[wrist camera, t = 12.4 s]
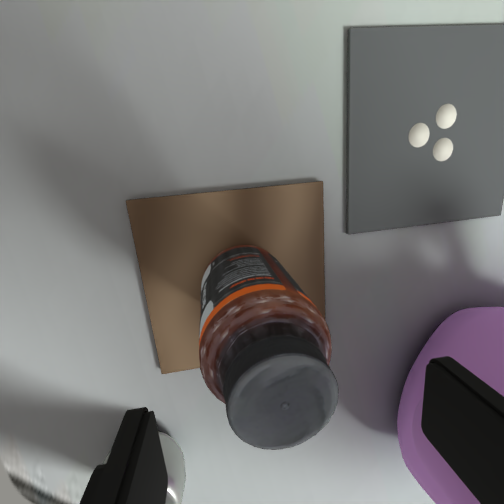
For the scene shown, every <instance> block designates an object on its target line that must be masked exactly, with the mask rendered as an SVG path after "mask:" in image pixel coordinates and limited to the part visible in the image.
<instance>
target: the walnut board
mask: <svg viewBox="0 0 504 504" xmlns="http://www.w3.org/2000/svg"><path fill="white" fill-rule="evenodd" d="M126 205H127V209H128V214H129V219H130V224H131V229H132V233H133V238H134V243H135V248H136V253H137V257H138V262H139V267H140V272H141V277H142V281H143V286H144V291H145V296H146V301H147V305H148V310H149V315H150V320H151V325H152V329H153V334H154V339H155V344H156V349H157V353H158V358H159V363H160V368H161V373H162V374H167V373H172V372H178V371H184V370H189V369H195V368H200V361H199V330H200V309H201V308H200V301H201V294H200V293H201V283H202V278H203V274H204V272H205V269H206V268H207V266H208V264H209V263H210V262H211V260H212V259H213V258H214V257H215V256H216V255H217V254H219V253H220V252H222V251H224V250H226V249H228V248H230V247H234V246H238V245H252V246H256V247H259V248H262V249H264V250H266V251H267V252H269V253H270V254H271V255H273V256H274V257H275V258H276V259H277V260H278V261H279V262H280V264H281V265H282V266H283V267H284V268H285V270H286V271H287V272H288V273H289V274H290V276H291V277H292V278H293V279H294V280H295V282H296V283H297V284H298V285H299V287H300V288H301V289H302V290H303V291H304V293H305V294H306V295H307V296H308V297H309V299H310V300H311V301H312V302H313V304H314V305H315V306H316V307H317V309H318V310H319V311H320V313H321V315H322V316H323V318H324V320H325V276H324V209H323V181H318V182H308V183H298V184H287V185H277V186H267V187H256V188H246V189H236V190H225V191H215V192H205V193H195V194H184V195H174V196H164V197H153V198H143V199H133V200H126Z"/></svg>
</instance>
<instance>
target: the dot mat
mask: <svg viewBox="0 0 504 504" xmlns="http://www.w3.org/2000/svg"><path fill="white" fill-rule="evenodd" d="M503 199H504V24H490V25H447V26H404V27H361V28H350V29H349V30H348V111H347V234H355V233H363V232H371V231H379V230H387V229H395V228H403V227H411V226H419V225H427V224H435V223H443V222H451V221H459V220H467V219H475V218H483V217H491V216H499V215H501V211H502V205H503Z"/></svg>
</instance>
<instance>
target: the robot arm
mask: <svg viewBox="0 0 504 504" xmlns="http://www.w3.org/2000/svg"><path fill="white" fill-rule="evenodd" d="M421 428H422V431H423V433H424V435H425V436H426V438H427V439H428V440H429V442H430V443H431V444H432V445H433V446H434V448H435V449H436V450H437V451H438V452H439V454H440V455H441V456H442V457H443V459H444V460H445V461H446V462H447V463H448V465H449V466H450V467H451V468H452V470H453V471H454V472H455V473H456V474H457V476H458V477H459V478H460V479H461V480H462V482H463V483H464V484H465V485H466V487H467V488H468V489H469V490H470V491H471V493H472V494H473V495H474V496H475V498H476V499H477V500H478V501H479V502H480V504H504V396H502V395H501V394H500V393H498V392H497V391H496V390H494V389H493V388H492V387H490V386H489V385H488V384H486V383H485V382H484V381H482V380H481V379H480V378H478V377H477V376H476V375H474V374H473V373H472V372H470V371H469V370H468V369H466V368H465V367H464V366H462V365H461V364H460V363H458V362H457V361H456V360H454V359H453V358H451V357H449V356H444V357H439V358H433V359H431V360H430V361H429V364H427V365H426V372H425V384H424V395H423V407H422V419H421ZM167 489H168V474H167V469H166V465H165V460H164V456H163V451H162V447H161V442H160V437H159V433H158V428H157V424H156V419H155V415H154V412H153V411H150V412H148V409H147V407H144V408H138V409H132V410H128V411H126V413H125V416H124V418H123V421H122V423H121V426H120V429H119V431H118V434H117V436H116V439H115V442H114V444H113V447H112V450H111V452H110V455H109V457H108V460H107V463H106V464H102V465H98V466H97V467H96V468H95V469H94V471H93V473H92V475H91V478H90V480H89V482H88V485H87V487H86V490H85V492H84V494H83V497H82V499H81V501H80V504H165V502H166V496H167Z"/></svg>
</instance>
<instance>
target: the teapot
mask: <svg viewBox="0 0 504 504" xmlns="http://www.w3.org/2000/svg"><path fill="white" fill-rule="evenodd" d="M444 356H449V357H451V358H453V359H454V360H456V361H457V362H458V363H460V364H461V365H462V366H464V367H465V368H466V369H468V370H469V371H470V372H472V373H473V374H474V375H476V376H477V377H478V378H480V379H481V380H482V381H484V382H485V383H486V384H488V385H489V386H490V387H492V388H493V389H494V390H496V391H497V392H498V393H500V394H501V395H502V396H504V307H475V308H467V309H462V310H459V311H457V312H455V313H453V314H452V315H450V316H449V317H448V318H446V319H445V320H444V321H443V322H442V323H441V324H440V325H439V326H438V328H437V329H436V330H435V331H434V333H433V334H432V335H431V337H430V338H429V340H428V341H427V343H426V344H425V346H424V347H423V349H422V350H421V352H420V354H419V355H418V357H417V359H416V360H415V362H414V364H413V366H412V368H411V370H410V372H409V374H408V377H407V379H406V382H405V385H404V388H403V391H402V395H401V399H400V404H399V410H398V417H397V429H398V439H399V444H400V448H401V452H402V457H403V459H404V461H405V464H406V466H407V467H408V469H409V471H410V472H411V473H412V475H413V476H414V478H415V479H416V480H417V482H418V483H419V484H420V486H421V487H422V488H423V489H424V490H425V491H426V493H427V494H428V495H429V496H430V497H431V499H432V500H433V501H434V502H435V503H436V504H480V502H479V501H478V500H477V499H476V498H475V496H474V495H473V494H472V493H471V491H470V490H469V489H468V488H467V487H466V485H465V484H464V483H463V482H462V480H461V479H460V478H459V477H458V476H457V474H456V473H455V472H454V471H453V470H452V468H451V467H450V466H449V465H448V463H447V462H446V461H445V460H444V459H443V457H442V456H441V455H440V454H439V452H438V451H437V450H436V449H435V448H434V446H433V445H432V444H431V443H430V442H429V440H428V439H427V438H426V436H425V435H424V433H423V431H422V428H421V419H422V407H423V395H424V384H425V372H426V365H427V364H429V361H430V360H431V359H433V358H439V357H444Z"/></svg>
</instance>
